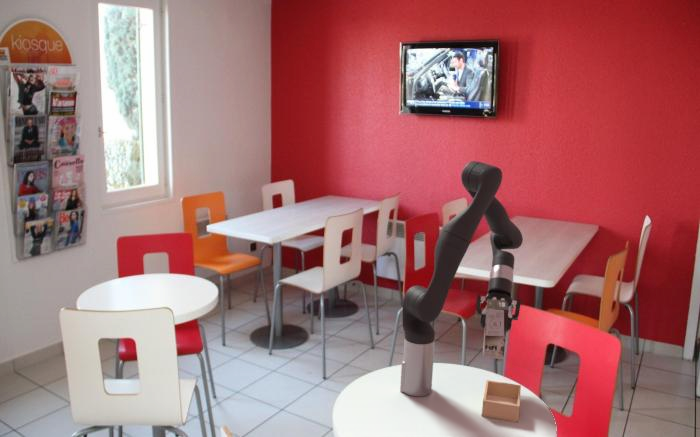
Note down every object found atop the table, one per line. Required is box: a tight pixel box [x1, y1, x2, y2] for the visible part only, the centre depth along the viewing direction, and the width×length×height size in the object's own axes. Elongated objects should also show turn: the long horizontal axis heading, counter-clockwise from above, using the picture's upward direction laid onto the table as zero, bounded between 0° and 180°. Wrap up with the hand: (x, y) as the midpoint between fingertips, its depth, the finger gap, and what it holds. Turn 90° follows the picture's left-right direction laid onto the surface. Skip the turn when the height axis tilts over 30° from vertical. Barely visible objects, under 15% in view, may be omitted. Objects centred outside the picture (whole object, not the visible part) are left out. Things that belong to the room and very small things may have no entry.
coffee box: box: [482, 299, 510, 360], centre depth 197 cm, size 9×6×16 cm
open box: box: [481, 379, 522, 423], centre depth 188 cm, size 10×13×5 cm
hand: (495, 328), depth 197 cm, fingers closed on coffee box, 6 cm apart
